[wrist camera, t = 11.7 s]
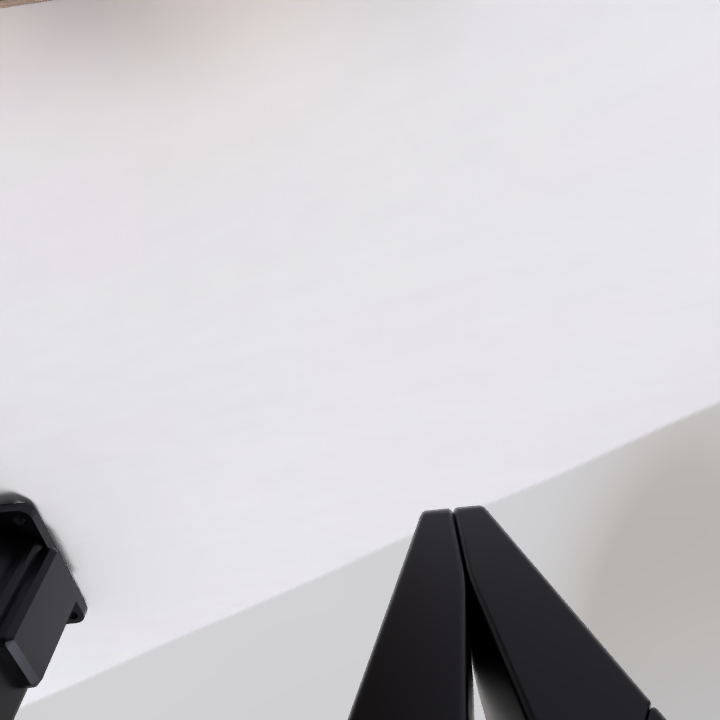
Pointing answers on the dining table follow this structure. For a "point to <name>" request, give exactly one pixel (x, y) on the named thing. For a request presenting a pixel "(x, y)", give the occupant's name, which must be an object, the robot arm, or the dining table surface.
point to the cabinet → (17, 2)
